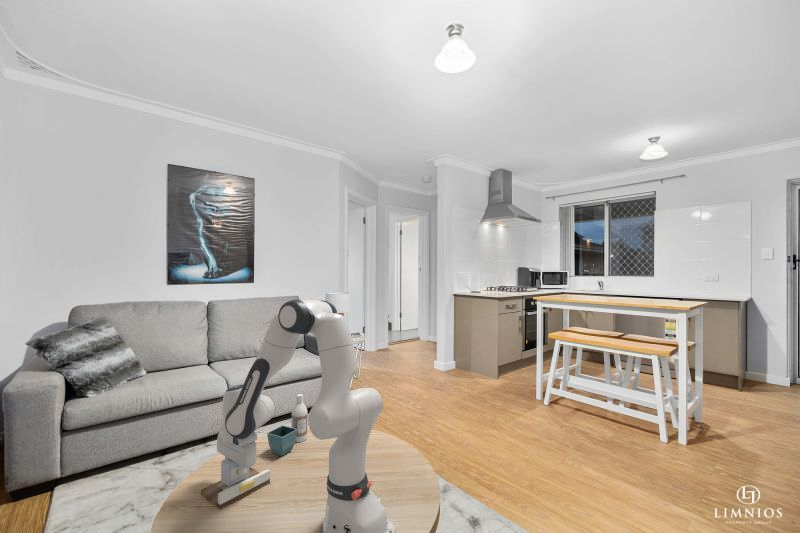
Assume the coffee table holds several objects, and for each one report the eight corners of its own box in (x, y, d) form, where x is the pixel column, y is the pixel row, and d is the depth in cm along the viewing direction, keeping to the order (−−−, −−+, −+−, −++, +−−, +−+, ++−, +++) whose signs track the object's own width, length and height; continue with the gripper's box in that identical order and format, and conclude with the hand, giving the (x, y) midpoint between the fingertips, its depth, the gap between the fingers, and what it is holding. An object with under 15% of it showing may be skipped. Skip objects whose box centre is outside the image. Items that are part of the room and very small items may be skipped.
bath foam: (294, 444, 158) (294, 398, 159) (289, 438, 164) (289, 394, 164) (309, 440, 162) (309, 395, 162) (304, 434, 168) (304, 391, 168)
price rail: (271, 479, 129) (271, 471, 129) (221, 505, 114) (221, 495, 114) (267, 477, 130) (267, 469, 130) (217, 502, 116) (217, 493, 116)
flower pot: (266, 454, 149) (266, 432, 149) (282, 445, 157) (282, 424, 157) (281, 459, 145) (282, 437, 145) (297, 450, 153) (297, 429, 153)
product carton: (249, 476, 128) (249, 456, 128) (228, 486, 122) (229, 465, 122) (241, 471, 131) (241, 452, 131) (221, 481, 125) (221, 460, 125)
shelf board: (270, 483, 129) (270, 478, 129) (220, 509, 115) (220, 504, 115) (249, 471, 137) (250, 466, 137) (200, 494, 122) (200, 489, 122)
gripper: (212, 427, 130) (211, 465, 130) (242, 443, 118) (242, 486, 118) (229, 421, 135) (228, 458, 135) (260, 436, 123) (259, 477, 123)
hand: (235, 471), depth 126 cm, fingers closed on product carton, 5 cm apart
